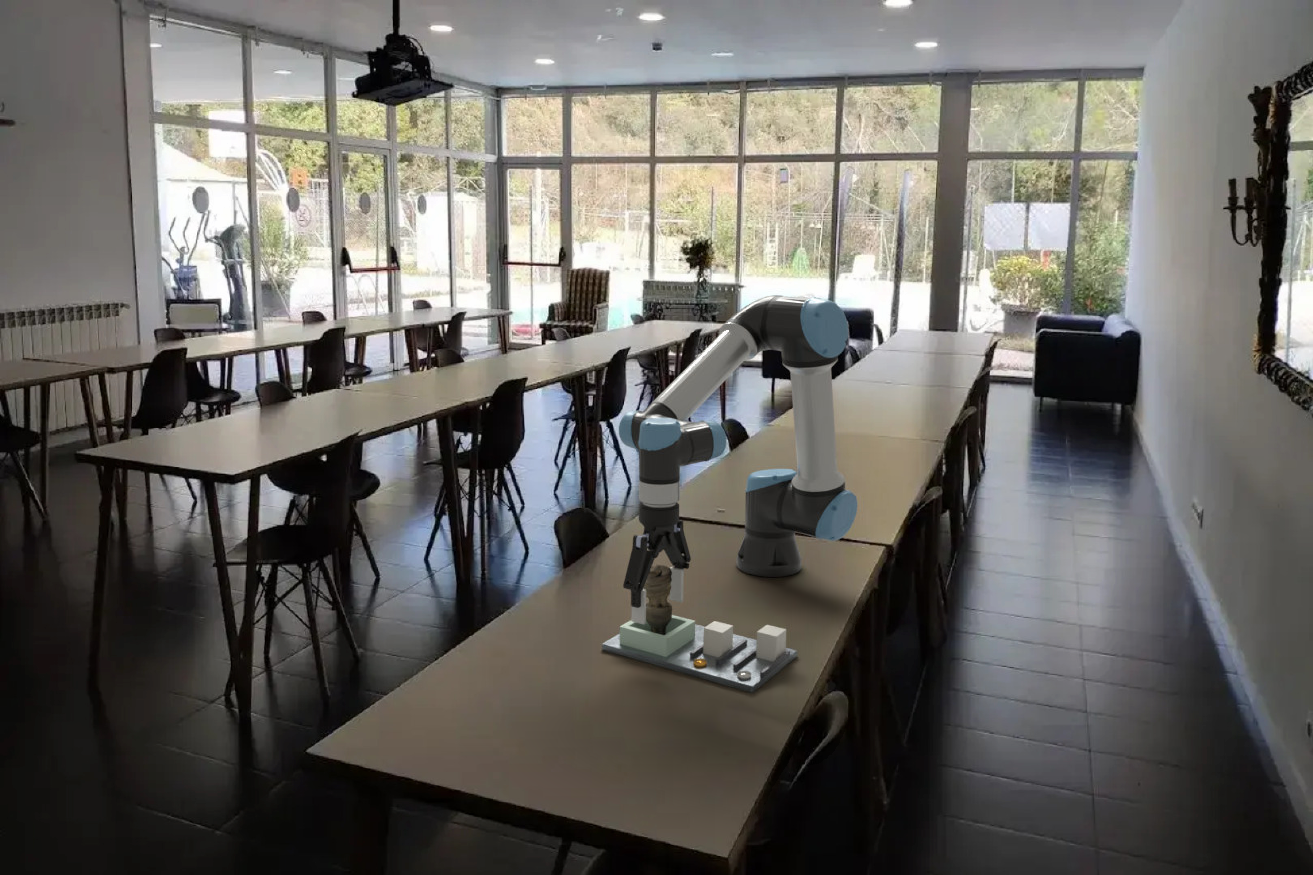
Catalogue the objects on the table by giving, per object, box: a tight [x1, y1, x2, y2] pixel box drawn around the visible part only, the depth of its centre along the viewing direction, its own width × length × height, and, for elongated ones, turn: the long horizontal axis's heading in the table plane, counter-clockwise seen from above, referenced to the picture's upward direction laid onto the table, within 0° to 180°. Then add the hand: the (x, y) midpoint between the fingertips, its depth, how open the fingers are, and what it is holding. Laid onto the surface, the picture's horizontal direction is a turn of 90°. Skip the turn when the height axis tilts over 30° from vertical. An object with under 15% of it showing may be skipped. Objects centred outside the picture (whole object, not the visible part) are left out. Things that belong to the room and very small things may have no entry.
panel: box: [601, 623, 798, 694], centre depth 192 cm, size 18×32×2 cm, turn 57°
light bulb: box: [643, 564, 673, 635], centre depth 193 cm, size 6×6×15 cm
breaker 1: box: [703, 620, 734, 657], centre depth 189 cm, size 4×4×5 cm
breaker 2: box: [756, 624, 787, 661], centre depth 188 cm, size 4×4×5 cm
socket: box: [619, 614, 696, 657], centre depth 194 cm, size 10×10×4 cm
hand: (657, 611), depth 193 cm, fingers open, 12 cm apart
